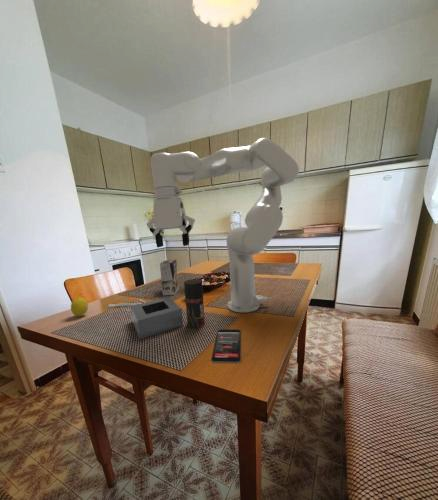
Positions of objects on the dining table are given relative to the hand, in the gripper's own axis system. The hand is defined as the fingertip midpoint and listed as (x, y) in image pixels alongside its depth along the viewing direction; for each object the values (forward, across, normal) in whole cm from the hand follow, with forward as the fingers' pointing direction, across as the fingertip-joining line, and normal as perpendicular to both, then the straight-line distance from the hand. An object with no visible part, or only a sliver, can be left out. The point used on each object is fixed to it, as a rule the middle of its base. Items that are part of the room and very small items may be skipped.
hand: (172, 246), depth 69 cm
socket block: (+27, +8, +4) cm, 28 cm away
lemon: (+26, +42, +3) cm, 50 cm away
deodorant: (+27, -6, +2) cm, 28 cm away
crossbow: (+27, +30, -9) cm, 41 cm away
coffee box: (+27, +19, -28) cm, 43 cm away
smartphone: (+28, -19, +11) cm, 36 cm away
